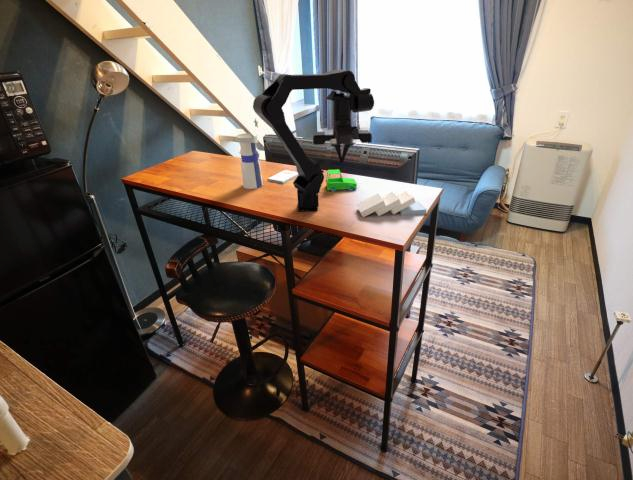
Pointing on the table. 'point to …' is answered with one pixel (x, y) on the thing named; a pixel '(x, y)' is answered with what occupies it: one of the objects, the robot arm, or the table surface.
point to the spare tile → (414, 209)
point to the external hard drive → (283, 176)
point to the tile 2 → (389, 203)
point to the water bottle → (250, 160)
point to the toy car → (339, 182)
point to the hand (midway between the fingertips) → (341, 163)
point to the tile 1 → (371, 205)
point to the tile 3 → (403, 202)
